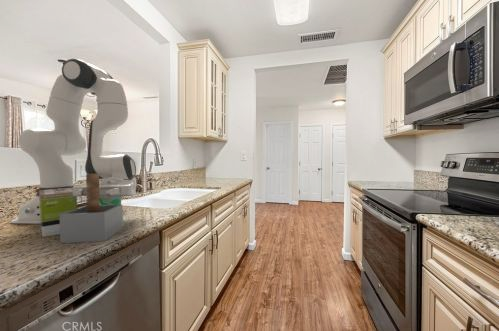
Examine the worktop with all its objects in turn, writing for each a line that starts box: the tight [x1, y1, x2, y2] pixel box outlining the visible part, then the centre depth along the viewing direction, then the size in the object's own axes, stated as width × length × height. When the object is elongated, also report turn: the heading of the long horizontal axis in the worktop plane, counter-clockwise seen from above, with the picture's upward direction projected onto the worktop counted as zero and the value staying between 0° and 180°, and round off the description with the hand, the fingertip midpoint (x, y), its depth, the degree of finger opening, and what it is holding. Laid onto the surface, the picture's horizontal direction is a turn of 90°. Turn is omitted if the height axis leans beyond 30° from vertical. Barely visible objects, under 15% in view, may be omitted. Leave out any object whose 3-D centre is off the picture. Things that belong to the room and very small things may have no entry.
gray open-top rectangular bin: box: [59, 204, 124, 244], centre depth 77 cm, size 13×13×9 cm
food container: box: [100, 196, 122, 205], centre depth 110 cm, size 12×6×10 cm, turn 168°
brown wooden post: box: [85, 173, 100, 213], centre depth 76 cm, size 8×5×20 cm, turn 97°
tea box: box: [39, 188, 78, 238], centre depth 83 cm, size 15×10×15 cm, turn 45°
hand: (93, 193), depth 77 cm, fingers open, 8 cm apart
